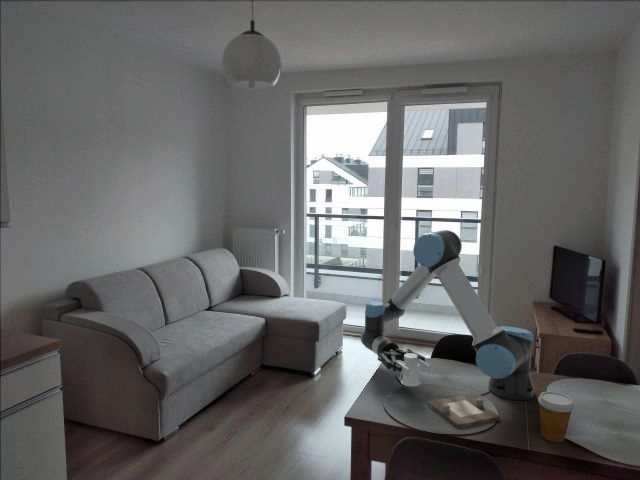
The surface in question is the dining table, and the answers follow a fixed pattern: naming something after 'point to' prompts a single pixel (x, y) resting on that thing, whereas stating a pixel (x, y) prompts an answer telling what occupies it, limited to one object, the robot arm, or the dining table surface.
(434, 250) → the robot arm
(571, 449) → the dining table surface
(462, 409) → the pin stand
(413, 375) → the downlight
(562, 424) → the disposable coffee cup
